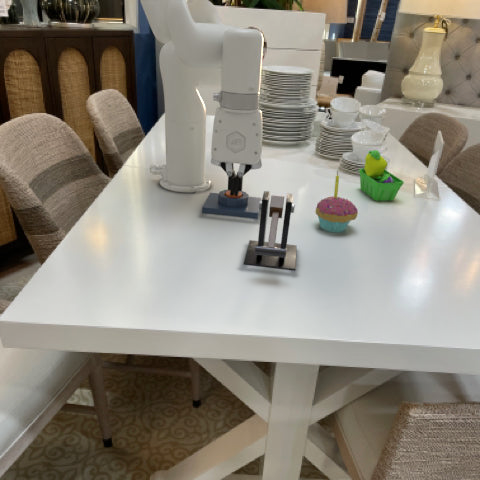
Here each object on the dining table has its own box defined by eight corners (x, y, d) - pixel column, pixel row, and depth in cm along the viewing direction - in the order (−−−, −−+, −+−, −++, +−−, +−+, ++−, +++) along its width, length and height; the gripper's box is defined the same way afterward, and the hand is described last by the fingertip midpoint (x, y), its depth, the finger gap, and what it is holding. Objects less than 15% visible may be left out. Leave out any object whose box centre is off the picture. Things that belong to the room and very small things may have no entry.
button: (223, 202, 102) (224, 195, 101) (226, 197, 105) (226, 189, 104) (240, 204, 102) (240, 196, 101) (242, 199, 105) (242, 191, 104)
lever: (285, 261, 76) (286, 251, 74) (254, 258, 76) (254, 248, 74) (291, 207, 82) (292, 197, 80) (262, 204, 82) (263, 194, 80)
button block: (201, 216, 101) (202, 198, 99) (209, 201, 110) (210, 184, 107) (257, 223, 100) (258, 204, 98) (261, 207, 109) (262, 190, 107)
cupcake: (305, 225, 101) (313, 169, 94) (338, 221, 104) (348, 167, 98) (326, 241, 95) (337, 182, 88) (361, 237, 98) (374, 179, 91)
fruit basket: (400, 202, 118) (412, 156, 112) (368, 202, 116) (378, 156, 110) (380, 187, 127) (390, 144, 121) (349, 188, 126) (358, 144, 119)
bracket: (294, 275, 82) (304, 209, 75) (243, 269, 82) (248, 203, 76) (295, 251, 90) (304, 190, 83) (249, 245, 90) (254, 184, 84)
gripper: (198, 101, 90) (197, 195, 100) (276, 108, 89) (267, 202, 99) (205, 96, 96) (203, 185, 106) (278, 102, 95) (270, 191, 105)
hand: (234, 193), depth 102 cm, fingers closed
